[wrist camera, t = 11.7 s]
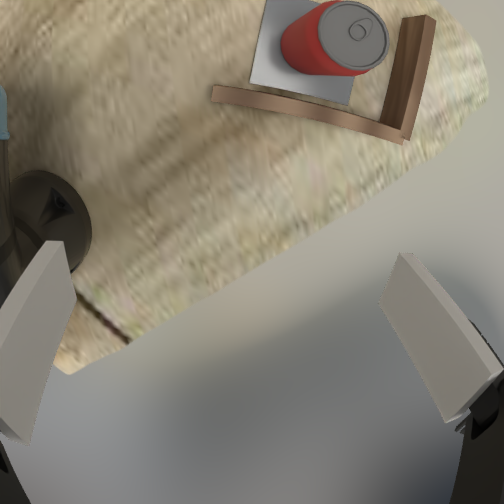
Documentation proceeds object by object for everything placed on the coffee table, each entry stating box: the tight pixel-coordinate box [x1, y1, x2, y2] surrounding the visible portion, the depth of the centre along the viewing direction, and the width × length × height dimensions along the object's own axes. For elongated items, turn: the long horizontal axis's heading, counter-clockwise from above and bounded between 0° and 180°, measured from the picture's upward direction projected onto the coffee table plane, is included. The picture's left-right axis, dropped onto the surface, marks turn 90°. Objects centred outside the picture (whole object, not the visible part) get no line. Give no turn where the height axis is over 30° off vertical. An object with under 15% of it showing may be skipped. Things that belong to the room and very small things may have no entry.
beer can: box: [281, 0, 390, 76], centre depth 22 cm, size 7×7×12 cm
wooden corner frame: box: [211, 15, 436, 145], centre depth 25 cm, size 21×16×5 cm
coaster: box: [249, 0, 355, 106], centre depth 27 cm, size 11×11×1 cm
